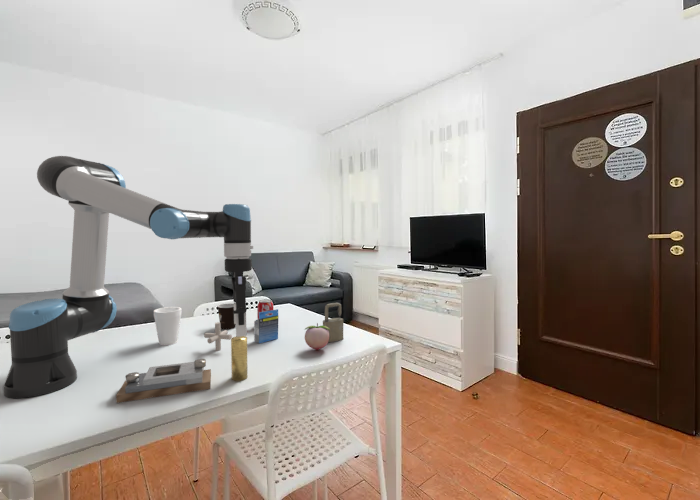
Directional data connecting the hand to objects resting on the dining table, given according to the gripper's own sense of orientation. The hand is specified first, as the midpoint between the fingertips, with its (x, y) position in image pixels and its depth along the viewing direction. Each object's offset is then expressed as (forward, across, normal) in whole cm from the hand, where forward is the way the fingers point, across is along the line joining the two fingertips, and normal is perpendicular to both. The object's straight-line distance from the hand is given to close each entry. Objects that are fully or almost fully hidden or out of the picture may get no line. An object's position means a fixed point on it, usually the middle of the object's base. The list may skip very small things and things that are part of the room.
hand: (240, 329), depth 99 cm
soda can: (+15, +51, -14) cm, 55 cm away
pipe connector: (+15, +27, +6) cm, 32 cm away
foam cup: (+14, +42, +24) cm, 51 cm away
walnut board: (+14, 0, +19) cm, 24 cm away
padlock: (+15, +23, -37) cm, 46 cm away
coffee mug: (+14, +54, +2) cm, 56 cm away
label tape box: (+15, +32, -12) cm, 37 cm away
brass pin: (+15, 0, 0) cm, 15 cm away
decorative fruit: (+15, +14, -28) cm, 35 cm away
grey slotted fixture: (+12, 0, +19) cm, 23 cm away
